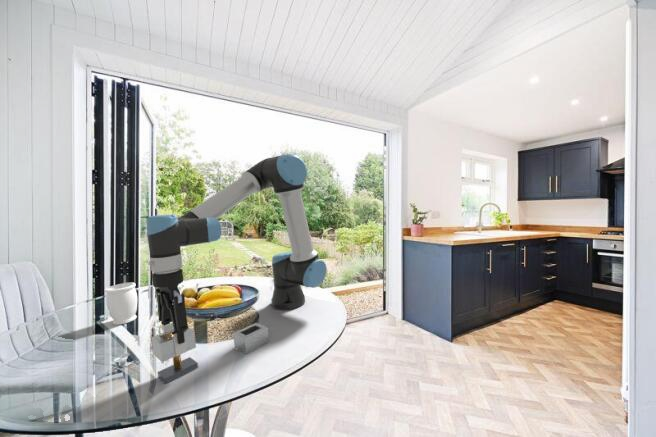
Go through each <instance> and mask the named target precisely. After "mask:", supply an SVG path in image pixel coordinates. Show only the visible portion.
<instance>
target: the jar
mask: <svg viewBox="0 0 656 437" xmlns="http://www.w3.org/2000/svg"><path fill="white" fill-rule="evenodd" d="M136 286H137V285H136V283H135V282H123V283H118V284H115V285H111V286H108V287H106V288H105V289H104V292H105V293H106V306H107V310H108V312H109V315H110V317H111V318H112V320H113V321H112V325H115V326H117V325H118V326H119V325H124V324H128V323H131V322H133V321H135V320H136V319H137V317H138V316H137V315H136V313H137V310H138V294H137V289H136Z"/></svg>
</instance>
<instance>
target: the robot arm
mask: <svg viewBox="0 0 656 437" xmlns="http://www.w3.org/2000/svg"><path fill="white" fill-rule="evenodd" d="M307 177H308V168H307V166H306V164H305V161H304V160H303V159H302V158H300V157H299V156H298V155H297V154H292V153H290V154H282V155H277V156H272V157H266V158H265V159H262V160H260V161H258V162H257V163H256V164H254V165H253V166H251V167H250V168H248V169H247V170H245V171H244V172H242V174H241V177H240V178H238V179H236V180H235V181H233V182H232V183H231V184H229V185H227V186H226V187H224V188H222V189H221V190H220V191H218V192H217V193H215V194H214V195H212V196H211V197H208V198H207V199H206V200H204V201H202V202H201V203H199V204H198V205H197V206H195V207H193V208H192V209H190V210H189V211H188V212H186V213H184V214H182V215H180V217H178V216H177V215H176V214H172V213H170V214H158V215H151V216H149V217H147V219H146V235H147V242H148V249H149V250H148V251H149V260H150V261H148V265H149V266H150V268H151V270H150V271H151V272H152V274H151V280H152V286H153V287H154V288H156V289H155V293H156V298H157V314H158V322H160V323H161V325H162V333H164V332H167V331H170V330H172V329H174V332H172V335H173V338H174V348H175V356H179V355H181V356H182V354H186V353H187V352H188V351H186V342H185V332H184V331H185V330H188V327H189V324H188V318H187V310H186V304H185V299H186V298H185V296H186V295H185V294H184V293H183V294H181V290H180V289H179V287H178V286H179V285H180V284H181V283H183V282H184V272H183V270H184V269H182V267H183V259H182V252H181V251H182V250H181V247H186V246H192V245H193V246H194V245H198V244H199V245H201V244H210V243H213V242H216V241H218V240H219V239H220V238H221V237H222V236H221V235H222V225H221V223H220V221H219V218H220V217H222V216H224V215H225V214H226V213H228V212H229V211H230V210H232V209H233V208H235V207H236V206H237V205H239V204H240V203H242V202H243V201H244V200H246V199H247V198H249V197H250V196H251V195H253V194H258V193H260V192H261V191H263V190H266V189H270V188H272V189H273V192H274V194H275V195H276V196H277V197H279V200H280V204H281V205H280V206H281V208H282V213H283V218H284V222H285V226H286V230H287V235H288V239H289V244H290V248H291V251H287V252H282V253H276V254H274V255H273V256H272V260H271V261H272V262H271V265H272V275H273V276H272V277H273V291H272V292H273V293H272V296H271V299H270V300H271V302H270V303H271V307H272V308H273V309H277V310H282V311H283V310H292V309H293V310H294V309H297V308H299V307H302V306H303V305H305V303H306V296H305V294H304V292H303V288H302V286H303V287H305V288H310V289H311V288H317V287H319V286H320V285H321V284H322V283H323V282H324V280H325V278H326V276H327V264H326V262H325V261H323V260H322V259H320V257H319V252H318V250H316V249H315V248H314V246H313V243H312V238H311V233H310V228H309V225H308V224H309V223H308V218H307V213H306V208H305V204H304V201H303V195H302V192H303V190H304V188H305V186H304V182H305V181H306V180H307Z"/></svg>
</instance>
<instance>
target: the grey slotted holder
mask: <svg viewBox="0 0 656 437" xmlns="http://www.w3.org/2000/svg"><path fill="white" fill-rule="evenodd" d="M232 335H233V345H234V348H235V349H236V350H238V351H240V352H242V353H243V354H245V355H247V354H249V353H251V352H252V351H255V350H256V349H258V348H260V347H262V346H263V345H266V344H267V343H269V342H270V338H269V327H268V326H266V325H264V324H260V323H258V322H255V323H253V324H250V325H248V326H246V327H244V328H241V329H238V330H237V331H235V332H233V334H232Z"/></svg>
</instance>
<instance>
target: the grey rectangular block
mask: <svg viewBox="0 0 656 437" xmlns="http://www.w3.org/2000/svg"><path fill="white" fill-rule="evenodd" d="M172 332H174V329H172V330H170V331H167V332H164V333H163V332H161V333H159V334H156V335H153V336H151V346H152V354H153V356H154V357H156V358H157V359H158V360H159V361H160V362H161V363H163V362H166V361H169V360H170V359H173V357H175V348H174V338H173V335H172ZM184 332H185V342H186V351H187V352H188V351H191V350H194V349H195V348H197V345H196V332H195V330H194V329H192V328H190V327H189V326H188V330H185V331H184Z"/></svg>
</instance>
